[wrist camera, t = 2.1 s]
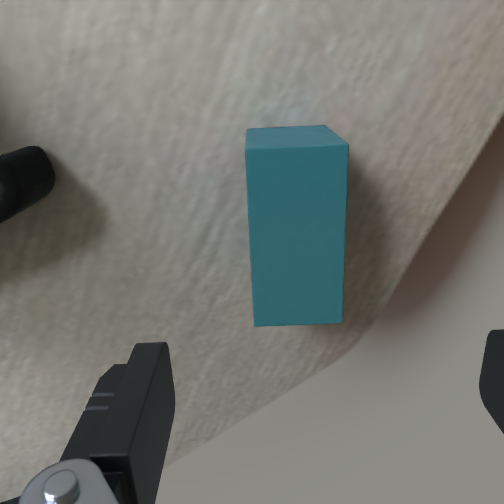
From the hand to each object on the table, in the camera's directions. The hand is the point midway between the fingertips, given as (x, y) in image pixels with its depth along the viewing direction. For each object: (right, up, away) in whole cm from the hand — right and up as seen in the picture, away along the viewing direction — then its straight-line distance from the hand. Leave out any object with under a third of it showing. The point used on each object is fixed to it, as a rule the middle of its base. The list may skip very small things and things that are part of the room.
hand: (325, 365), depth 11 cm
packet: (0, +6, +13) cm, 14 cm away
